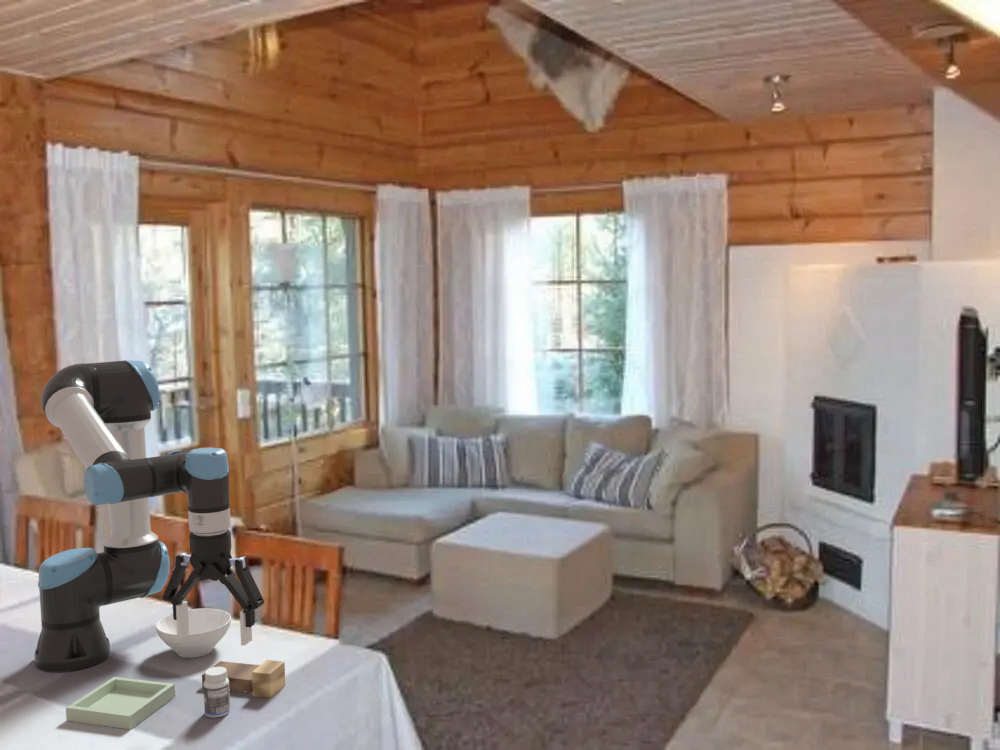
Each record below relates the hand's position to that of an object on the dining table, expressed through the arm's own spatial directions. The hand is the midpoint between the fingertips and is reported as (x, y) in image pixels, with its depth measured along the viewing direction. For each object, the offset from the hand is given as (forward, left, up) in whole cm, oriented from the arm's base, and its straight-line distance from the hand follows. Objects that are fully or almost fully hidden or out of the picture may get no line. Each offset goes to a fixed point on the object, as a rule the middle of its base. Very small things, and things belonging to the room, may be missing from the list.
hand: (214, 639), depth 178 cm
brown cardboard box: (-3, +13, -15) cm, 20 cm away
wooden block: (+5, +11, -15) cm, 19 cm away
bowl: (-21, +25, -15) cm, 36 cm away
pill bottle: (0, 0, -15) cm, 15 cm away
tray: (-19, -3, -15) cm, 24 cm away
